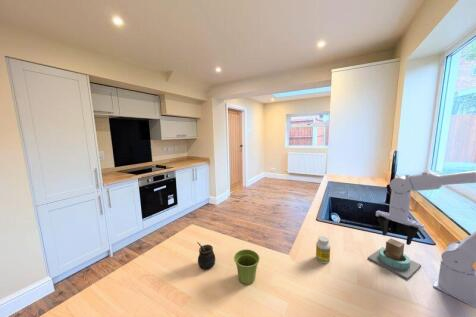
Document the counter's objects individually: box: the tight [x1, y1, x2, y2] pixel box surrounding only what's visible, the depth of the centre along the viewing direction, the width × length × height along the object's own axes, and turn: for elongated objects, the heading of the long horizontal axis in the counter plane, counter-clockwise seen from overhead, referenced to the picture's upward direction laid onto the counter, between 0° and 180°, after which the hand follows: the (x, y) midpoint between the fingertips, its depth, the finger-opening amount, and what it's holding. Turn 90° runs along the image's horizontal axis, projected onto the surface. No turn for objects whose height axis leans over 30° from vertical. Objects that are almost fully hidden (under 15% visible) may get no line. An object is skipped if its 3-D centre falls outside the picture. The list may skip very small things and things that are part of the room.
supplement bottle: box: [315, 235, 331, 264], centre depth 76 cm, size 5×5×10 cm
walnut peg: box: [385, 238, 405, 261], centre depth 73 cm, size 4×4×8 cm
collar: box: [367, 247, 422, 281], centre depth 74 cm, size 13×13×3 cm
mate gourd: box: [197, 241, 216, 271], centre depth 74 cm, size 7×8×10 cm
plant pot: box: [233, 248, 261, 286], centre depth 67 cm, size 9×9×9 cm
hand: (396, 239), depth 73 cm, fingers open, 7 cm apart
